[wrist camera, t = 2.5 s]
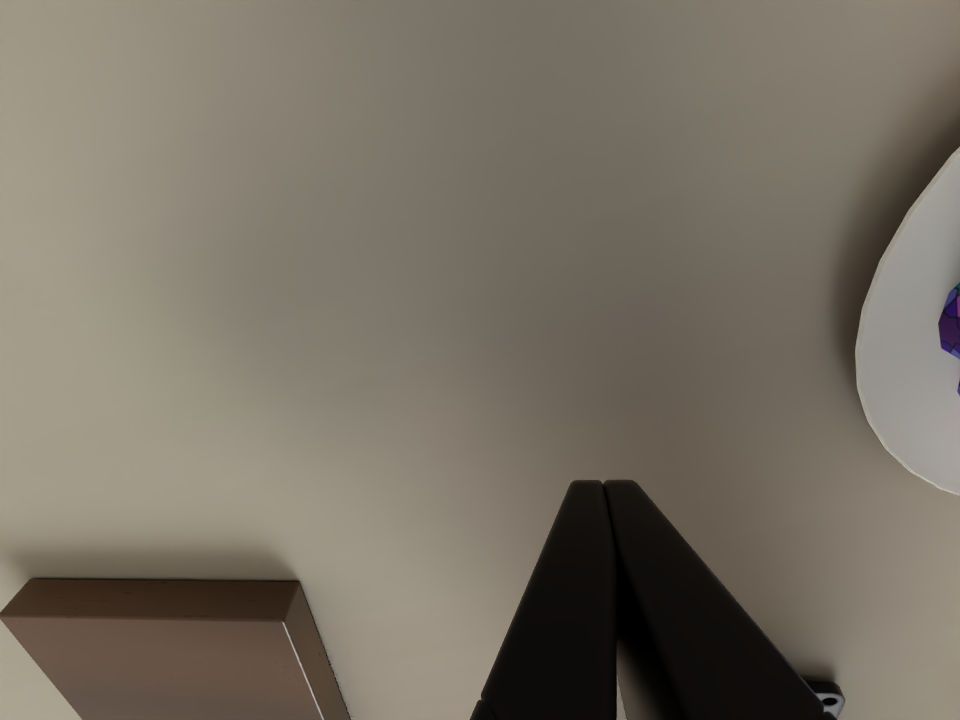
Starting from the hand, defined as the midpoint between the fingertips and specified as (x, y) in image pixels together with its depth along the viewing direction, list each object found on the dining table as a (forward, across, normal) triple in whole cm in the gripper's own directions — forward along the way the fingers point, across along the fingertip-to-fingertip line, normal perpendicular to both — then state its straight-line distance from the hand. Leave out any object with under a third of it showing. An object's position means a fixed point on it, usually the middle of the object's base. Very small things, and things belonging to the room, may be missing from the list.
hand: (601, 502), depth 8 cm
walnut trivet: (+6, +14, +16) cm, 22 cm away
